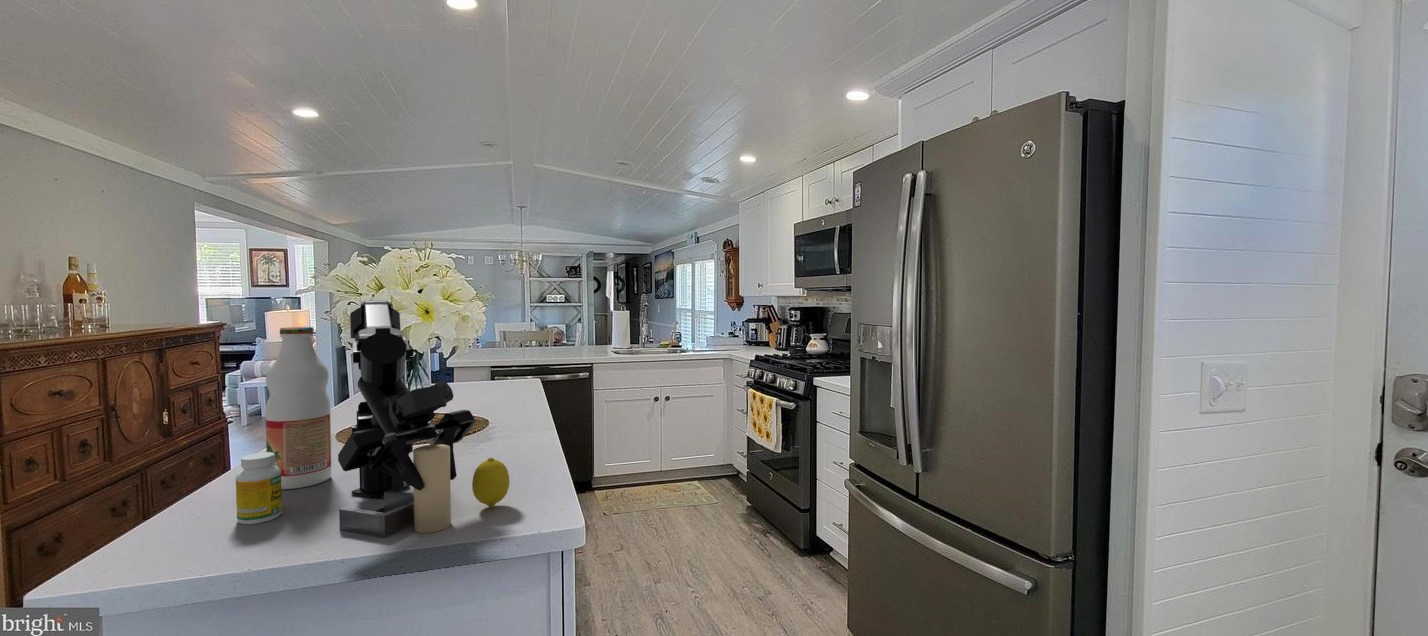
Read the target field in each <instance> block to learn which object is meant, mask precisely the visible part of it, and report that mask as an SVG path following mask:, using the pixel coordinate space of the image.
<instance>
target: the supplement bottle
mask: <svg viewBox="0 0 1428 636" xmlns="http://www.w3.org/2000/svg"><path fill="white" fill-rule="evenodd" d="M274 463H275V453H272V452H267V451H266V452H265V451H264V452H263V451H262V452H255V453H251V454H246V455H244V456H242V457H241V459H240V467H241V468H242V470H240V471H239V472H237V474H236V476H235V493H236V494H235V499H236V501H235V502H236V522H238V523H239V524H241V525H256V524H261V523H266V521H267V522H270V521H272V520H274V519H276V518H278V517H279V516H280V515H281V514H282V512H283V505H282V504H283V501H282V499H283V497H282V494H283V493H282V489H281V470H280V468H279V467H277V466H274V465H273V464H274Z"/></svg>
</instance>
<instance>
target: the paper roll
mask: <svg viewBox="0 0 1428 636" xmlns="http://www.w3.org/2000/svg"><path fill="white" fill-rule="evenodd" d="M412 453H413V454H412V455H413V456H412V457H413V460H412V462H413V463H414V465H415V467H416V469H417V470H418V472H419V474H420V476H421V478H422V480H423V482H424V485H425V486H424V488H423V489H422V490H420V491H419V490H417V489H415V488H414V487H413V493H414V524H413V526H414V528H413V529H414V531H415V532H416V533H420V534H431V533H436V532H441V531H444V530H446V529H448V528H449V527H450V526H451V525H452V518H451V517H452V512H451V511H452V509H451V506H452V505H451V496H452V495H451V480H450V446H449V445H443V444H436V445H430V444H429V445H422V446H419V447H416V448H413V452H412Z"/></svg>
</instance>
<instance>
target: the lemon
mask: <svg viewBox="0 0 1428 636" xmlns="http://www.w3.org/2000/svg"><path fill="white" fill-rule="evenodd" d="M471 488H472V492H473V495H474V497H475V498H476V500H477V501H478V502H479V503H481V504H484V505H486V506H487V507H488V508H494V507H495V506H496V505H497V504H498V503H499V502H501V501H502V500H503V499H504V498H505V496H507V493H508V492H509V488H510V474H509V470H508V468H507V466H506V465H505V464H504V463H503V462H502V461H500V460H498V459H495V458H494V457H488V458H487V459H485V460H484V461H482V462H481V463H479V465H478V466H477V467H476V468H475V470H474V473H473V477H472V483H471Z"/></svg>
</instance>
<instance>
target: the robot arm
mask: <svg viewBox="0 0 1428 636" xmlns="http://www.w3.org/2000/svg"><path fill="white" fill-rule="evenodd" d="M349 317H350V318H349V319H350V321H349V322H350V339H354V341H353V340H352V364H358V367H357V368H358V370H360V377H359V379H358V381H357V388H358V390H359V391H360V393H361V395H362V397H363V398H364V400H365V401H361V402H359V404H358V406H357V410H356V424H352V425H351V434H350V436H349V437H348V439H347V440H346V442H345V443H344V445H343V446H342V447H341V450H340V451H339V453H338V454H337V458H338V459H337V462H338V464H339V465H340V467H341V469H342V471H345V472H349V471H353V470H357V469H359V470H358V471H359V488H357V489H353V490H351V495H355V496H361V497H366V498H367V497H368V498H372V499H373V498H375V499H382V498H384V492H386V491H388V490H393V491H400V492H401V491H402V490H405V489H408V488H410V487H411V488H413V489H414V488H415V489H417V490H419V491H420V490H422V489H423V488H424V486H425V485H424V482H423V480H422V478H421V476H420V474H419V472H418V470H417V469H416V467H415V465H414V463H413V460H412V458H411V456H410V453H413V450H414V446H413V444H414V443H418V442H422V441H426V442H428V444H429V445H436V444H443V445H449V446H450V481H453V480H455V479H456V477H457V469H456V462H455V461H456V460H455V454H454V444H456V443H460V441H462V440H463V439H464V437H466V435H467V433H468V432H469V431H470V430H471V428H472V427H473V425H474V424H475V423H476V422H477V420H476V419H475V416H474V414H473V413H472V411H470V410H469V409H461V410H456V411H451V412H445V414H444V415H443V417H442V418H441V420H440V421H439V422H438V423H437V424H435V423H434V424H431V425H430V424H429V422H430V421H433V419H434V418H435V417H436V413H435V411H437V410H439V409H441V408H445V407H447V406H448V405H447V403H449V402H450V401H453V399H454V396H455V395H454V393H453V390H452V388H451V386H450V385H449V384H448V382H447V381H445V380H444V381H439V382H438V381H437V382H435V384H431V385H430V386H425V387H419V388H415V389H412V390H409V389H408V386H407V385H406V383H405V381H404V380H403V378H404V376H405V370H406V362H408V361H410V359H411V357H414V348H413V347H412V346H411V344H409V342H408V341H409V340H408V339H404V337H403V332H402V331H401V313H400V312H399V311H398V310H397V309H395V308H394V307H393V306H392V301H388V300H364V301H360V306H359V307H358V308H356V309H354V311H351V312H350V314H349Z"/></svg>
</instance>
